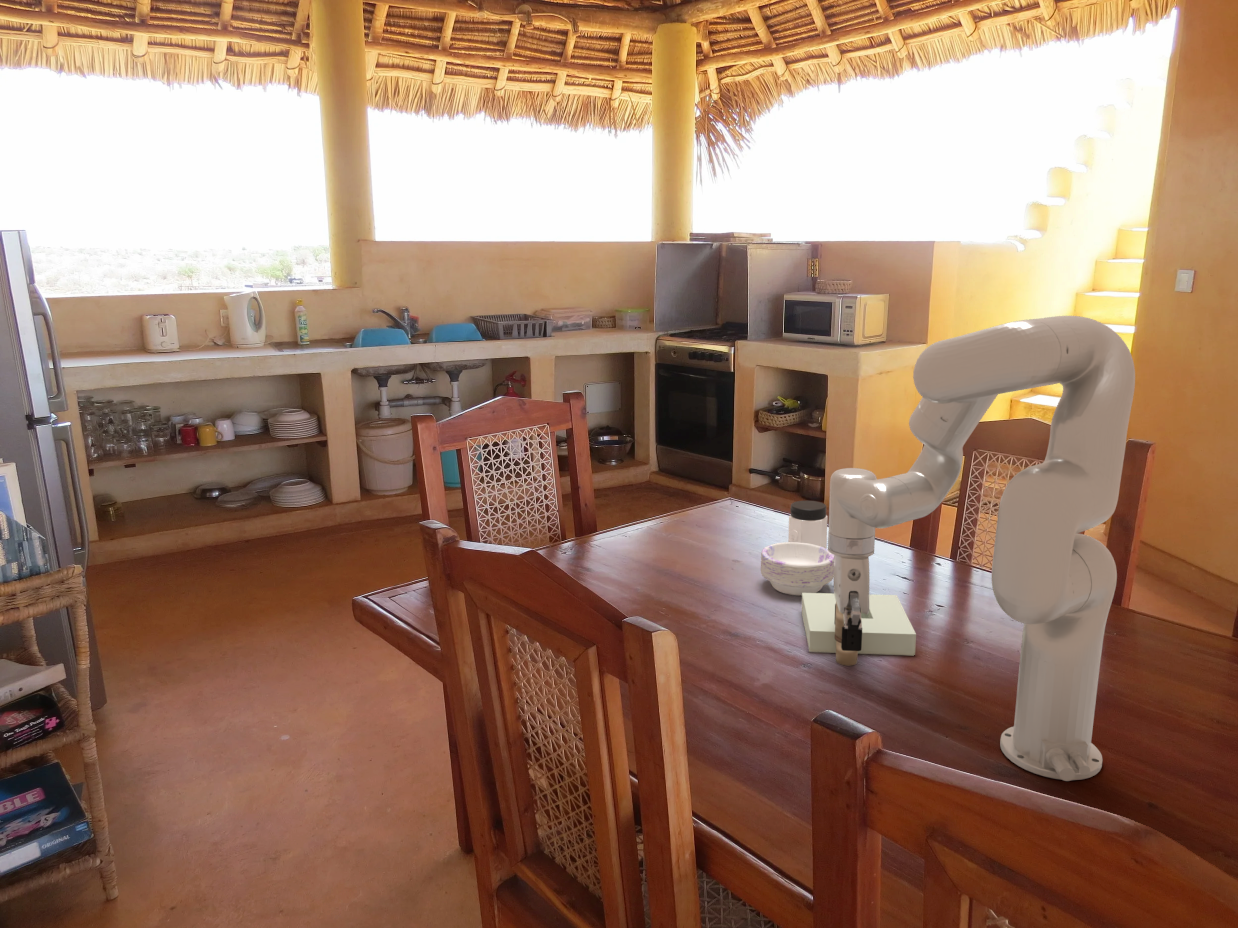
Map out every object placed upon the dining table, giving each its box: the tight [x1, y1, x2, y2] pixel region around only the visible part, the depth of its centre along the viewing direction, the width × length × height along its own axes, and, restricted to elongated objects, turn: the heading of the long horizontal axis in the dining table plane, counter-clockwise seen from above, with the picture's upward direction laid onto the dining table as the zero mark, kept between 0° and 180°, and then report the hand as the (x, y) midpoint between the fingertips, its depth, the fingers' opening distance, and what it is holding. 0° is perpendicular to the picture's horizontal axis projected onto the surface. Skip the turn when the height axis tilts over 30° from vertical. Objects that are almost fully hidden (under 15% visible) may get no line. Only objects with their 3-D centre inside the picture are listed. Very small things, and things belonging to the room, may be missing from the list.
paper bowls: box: [760, 541, 834, 597], centre depth 180 cm, size 15×15×8 cm
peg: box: [834, 602, 859, 667], centre depth 146 cm, size 4×4×12 cm
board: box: [801, 592, 917, 657], centre depth 158 cm, size 18×18×4 cm
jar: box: [787, 500, 829, 549], centre depth 200 cm, size 9×8×12 cm
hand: (847, 637), depth 146 cm, fingers open, 9 cm apart
